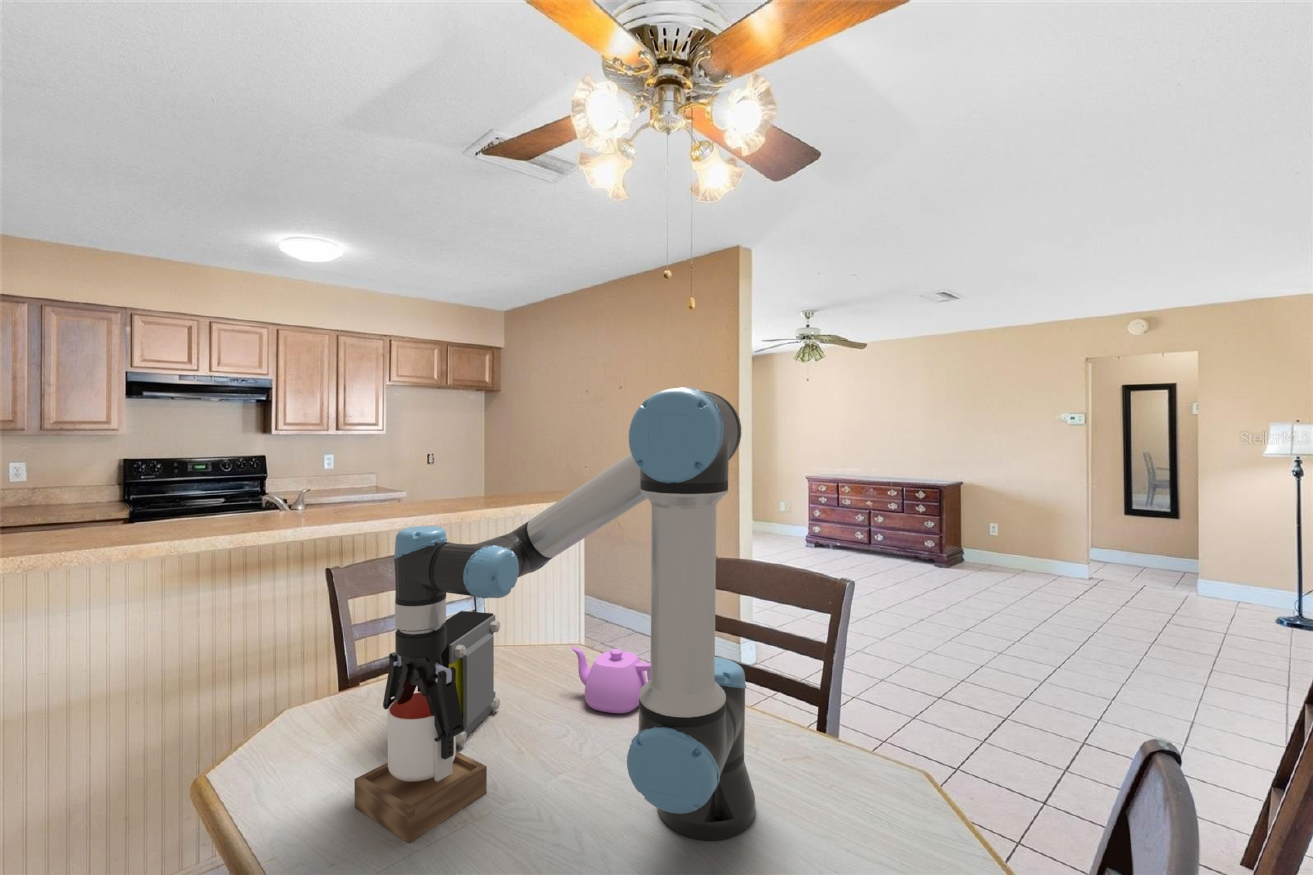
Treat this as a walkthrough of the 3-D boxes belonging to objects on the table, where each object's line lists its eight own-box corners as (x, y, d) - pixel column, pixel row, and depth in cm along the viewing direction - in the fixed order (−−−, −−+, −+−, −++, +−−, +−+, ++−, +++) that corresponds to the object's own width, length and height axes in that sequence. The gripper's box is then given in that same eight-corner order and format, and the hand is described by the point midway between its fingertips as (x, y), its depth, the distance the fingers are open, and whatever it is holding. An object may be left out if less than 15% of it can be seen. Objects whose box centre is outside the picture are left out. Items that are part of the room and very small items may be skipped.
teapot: (583, 682, 140) (583, 634, 139) (666, 694, 134) (667, 644, 134) (557, 708, 127) (557, 656, 127) (647, 723, 121) (648, 668, 121)
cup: (441, 743, 103) (441, 684, 103) (465, 769, 96) (465, 706, 95) (379, 764, 97) (379, 702, 96) (399, 794, 89) (399, 727, 89)
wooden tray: (486, 793, 98) (486, 766, 98) (408, 843, 87) (408, 812, 86) (432, 765, 106) (432, 739, 106) (354, 807, 94) (354, 779, 94)
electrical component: (459, 754, 109) (459, 645, 109) (408, 748, 111) (407, 640, 111) (503, 709, 127) (503, 614, 126) (458, 704, 129) (458, 610, 128)
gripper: (488, 633, 92) (489, 777, 93) (400, 607, 105) (401, 734, 105) (446, 649, 86) (447, 803, 87) (358, 618, 99) (359, 753, 99)
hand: (422, 765), depth 96 cm, fingers closed on cup, 10 cm apart
